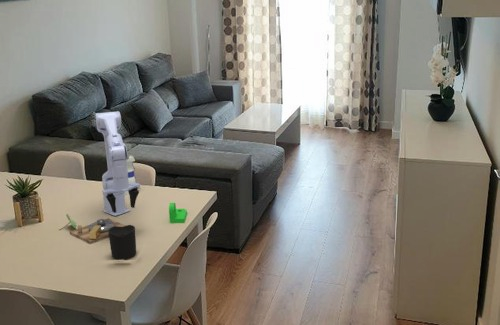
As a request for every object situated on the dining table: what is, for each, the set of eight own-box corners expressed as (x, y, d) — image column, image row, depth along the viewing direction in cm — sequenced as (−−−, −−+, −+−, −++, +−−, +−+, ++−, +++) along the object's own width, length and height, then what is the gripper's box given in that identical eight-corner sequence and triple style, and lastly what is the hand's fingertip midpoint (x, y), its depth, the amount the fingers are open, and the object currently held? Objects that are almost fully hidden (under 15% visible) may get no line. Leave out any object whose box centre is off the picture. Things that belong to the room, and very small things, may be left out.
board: (69, 233, 220) (68, 224, 219) (108, 220, 233) (107, 211, 232) (90, 243, 210) (89, 234, 209) (129, 229, 223) (128, 220, 222)
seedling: (68, 239, 227) (80, 229, 228) (60, 236, 219) (74, 225, 220) (58, 226, 229) (71, 215, 230) (50, 222, 221) (64, 212, 222)
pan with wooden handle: (93, 222, 227) (92, 216, 226) (117, 222, 227) (116, 215, 226) (80, 238, 212) (79, 231, 211) (105, 238, 211) (105, 231, 210)
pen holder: (123, 247, 206) (121, 222, 204) (142, 252, 202) (140, 227, 199) (105, 257, 199) (102, 231, 196) (124, 262, 194) (122, 236, 191)
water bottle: (119, 194, 265) (114, 144, 258) (137, 192, 267) (133, 142, 260) (120, 200, 257) (115, 148, 250) (138, 198, 259) (134, 146, 252)
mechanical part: (184, 223, 228) (183, 205, 226) (169, 223, 228) (168, 205, 226) (187, 212, 240) (186, 195, 237) (174, 213, 240) (172, 195, 238)
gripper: (106, 182, 204) (109, 216, 208) (142, 174, 212) (145, 208, 216) (99, 178, 210) (102, 211, 213) (134, 170, 218) (137, 203, 221)
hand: (123, 209), depth 215 cm, fingers open, 7 cm apart
